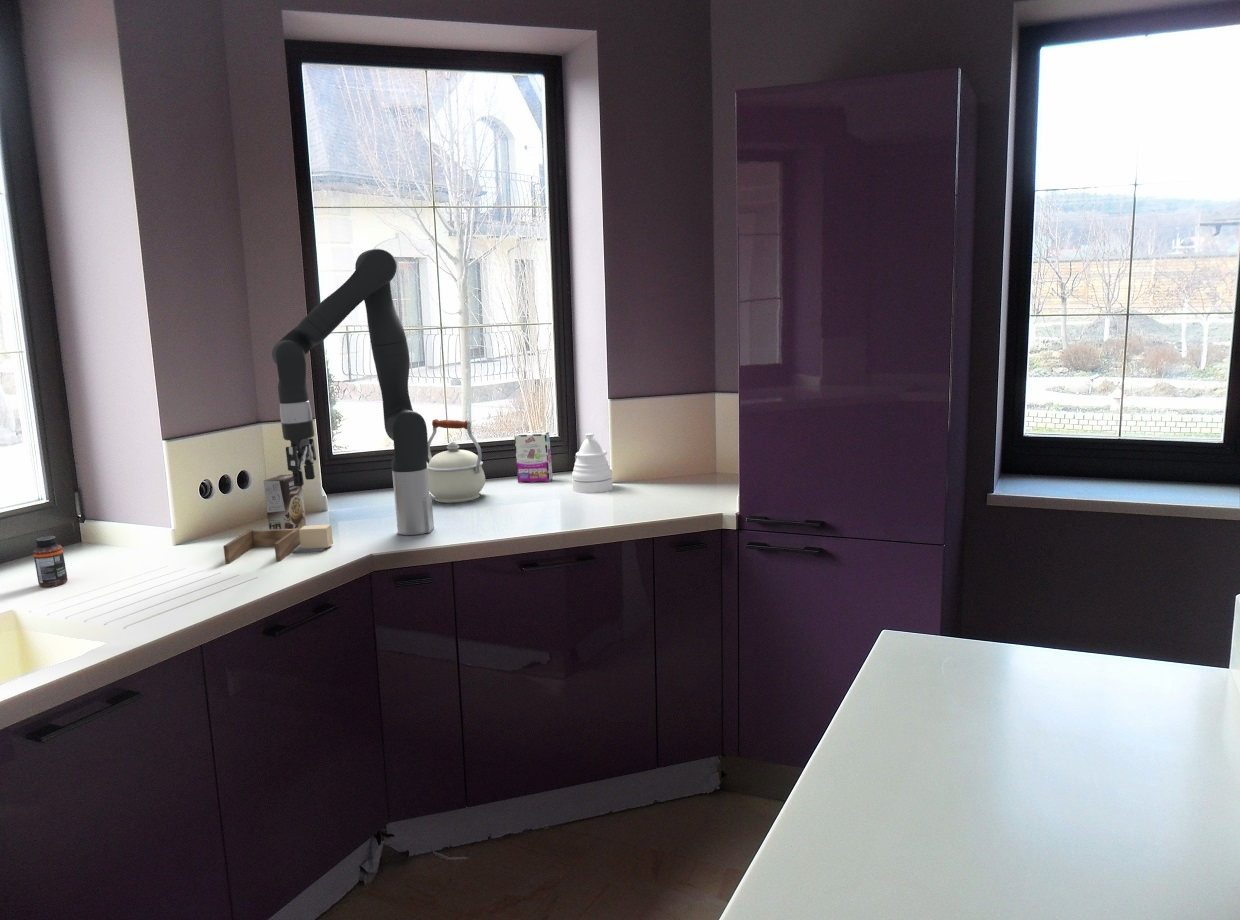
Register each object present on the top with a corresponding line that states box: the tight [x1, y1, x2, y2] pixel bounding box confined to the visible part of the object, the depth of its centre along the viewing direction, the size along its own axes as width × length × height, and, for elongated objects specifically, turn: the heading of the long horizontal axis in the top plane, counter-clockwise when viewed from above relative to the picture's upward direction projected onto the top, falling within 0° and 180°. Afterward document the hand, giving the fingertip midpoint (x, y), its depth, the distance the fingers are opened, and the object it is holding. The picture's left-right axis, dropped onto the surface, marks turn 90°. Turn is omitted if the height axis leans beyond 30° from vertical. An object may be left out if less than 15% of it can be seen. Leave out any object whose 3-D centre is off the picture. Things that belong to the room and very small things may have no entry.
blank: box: [299, 524, 334, 549], centre depth 241 cm, size 4×7×5 cm, turn 90°
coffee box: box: [263, 473, 307, 530], centre depth 257 cm, size 9×6×16 cm
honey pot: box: [571, 433, 614, 494], centre depth 297 cm, size 13×13×18 cm
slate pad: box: [291, 544, 328, 554], centre depth 241 cm, size 8×8×1 cm
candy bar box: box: [514, 431, 553, 484], centre depth 314 cm, size 11×5×16 cm, turn 81°
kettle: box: [427, 418, 486, 504], centre depth 293 cm, size 25×18×25 cm
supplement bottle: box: [33, 535, 68, 588], centre depth 219 cm, size 6×6×11 cm
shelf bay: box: [223, 528, 301, 565], centre depth 239 cm, size 14×17×4 cm
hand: (304, 482), depth 238 cm, fingers open, 8 cm apart
